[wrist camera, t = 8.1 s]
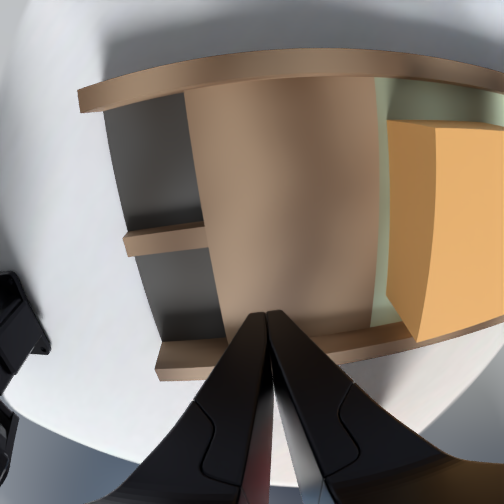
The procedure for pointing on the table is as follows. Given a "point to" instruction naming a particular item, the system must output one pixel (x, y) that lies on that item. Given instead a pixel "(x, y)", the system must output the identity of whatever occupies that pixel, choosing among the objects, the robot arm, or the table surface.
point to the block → (445, 224)
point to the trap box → (273, 190)
